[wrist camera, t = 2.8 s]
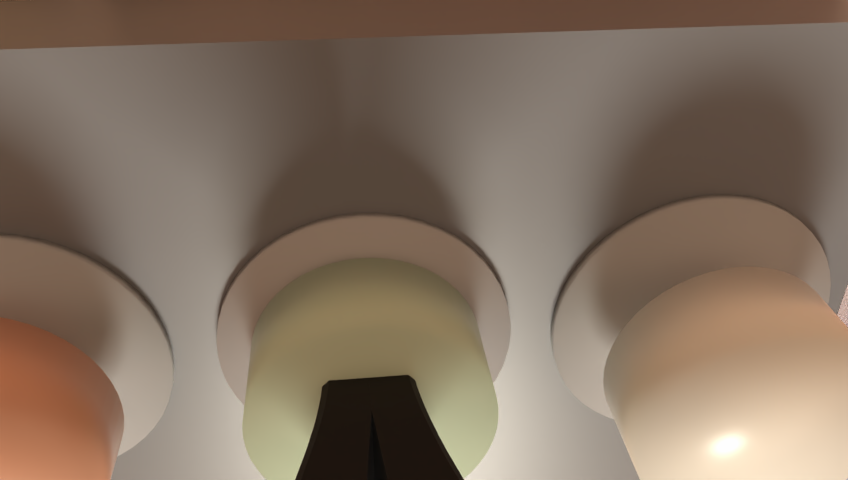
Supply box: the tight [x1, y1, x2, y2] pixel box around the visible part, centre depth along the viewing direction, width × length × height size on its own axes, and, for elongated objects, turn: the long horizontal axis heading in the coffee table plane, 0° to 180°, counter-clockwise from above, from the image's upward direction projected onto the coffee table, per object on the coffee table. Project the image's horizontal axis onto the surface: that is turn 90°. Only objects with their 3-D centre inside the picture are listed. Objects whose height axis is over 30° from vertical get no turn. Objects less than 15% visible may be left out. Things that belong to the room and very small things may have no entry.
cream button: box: [603, 267, 848, 480], centre depth 13 cm, size 4×4×2 cm
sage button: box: [242, 258, 499, 480], centre depth 13 cm, size 4×4×2 cm
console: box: [0, 0, 848, 480], centre depth 15 cm, size 18×11×3 cm, turn 90°
